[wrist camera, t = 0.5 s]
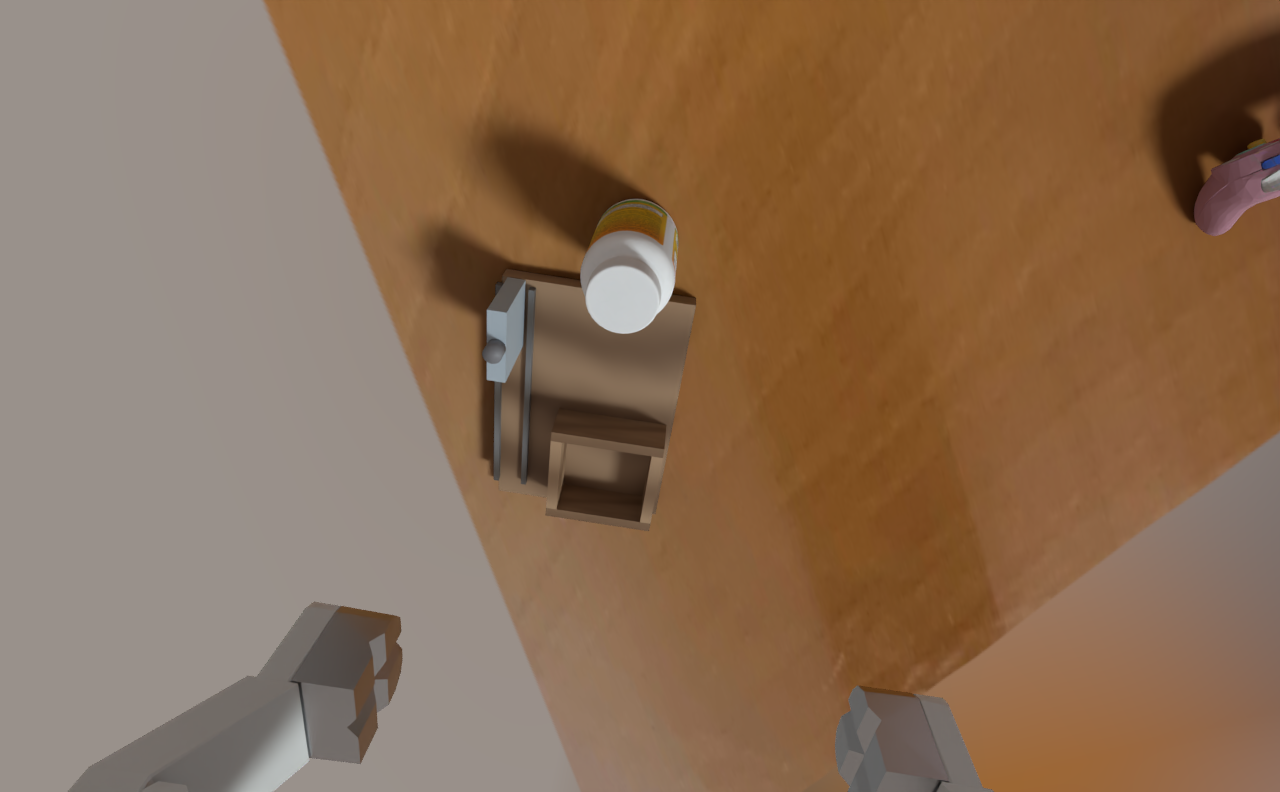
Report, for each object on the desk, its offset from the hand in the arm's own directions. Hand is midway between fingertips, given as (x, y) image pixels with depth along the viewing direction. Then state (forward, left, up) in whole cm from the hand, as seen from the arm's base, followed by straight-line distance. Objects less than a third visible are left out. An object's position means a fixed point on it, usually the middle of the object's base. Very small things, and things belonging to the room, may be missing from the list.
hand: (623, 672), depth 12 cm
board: (+17, -4, -34) cm, 38 cm away
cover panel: (+10, -10, -33) cm, 36 cm away
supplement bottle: (+4, -2, -34) cm, 35 cm away
